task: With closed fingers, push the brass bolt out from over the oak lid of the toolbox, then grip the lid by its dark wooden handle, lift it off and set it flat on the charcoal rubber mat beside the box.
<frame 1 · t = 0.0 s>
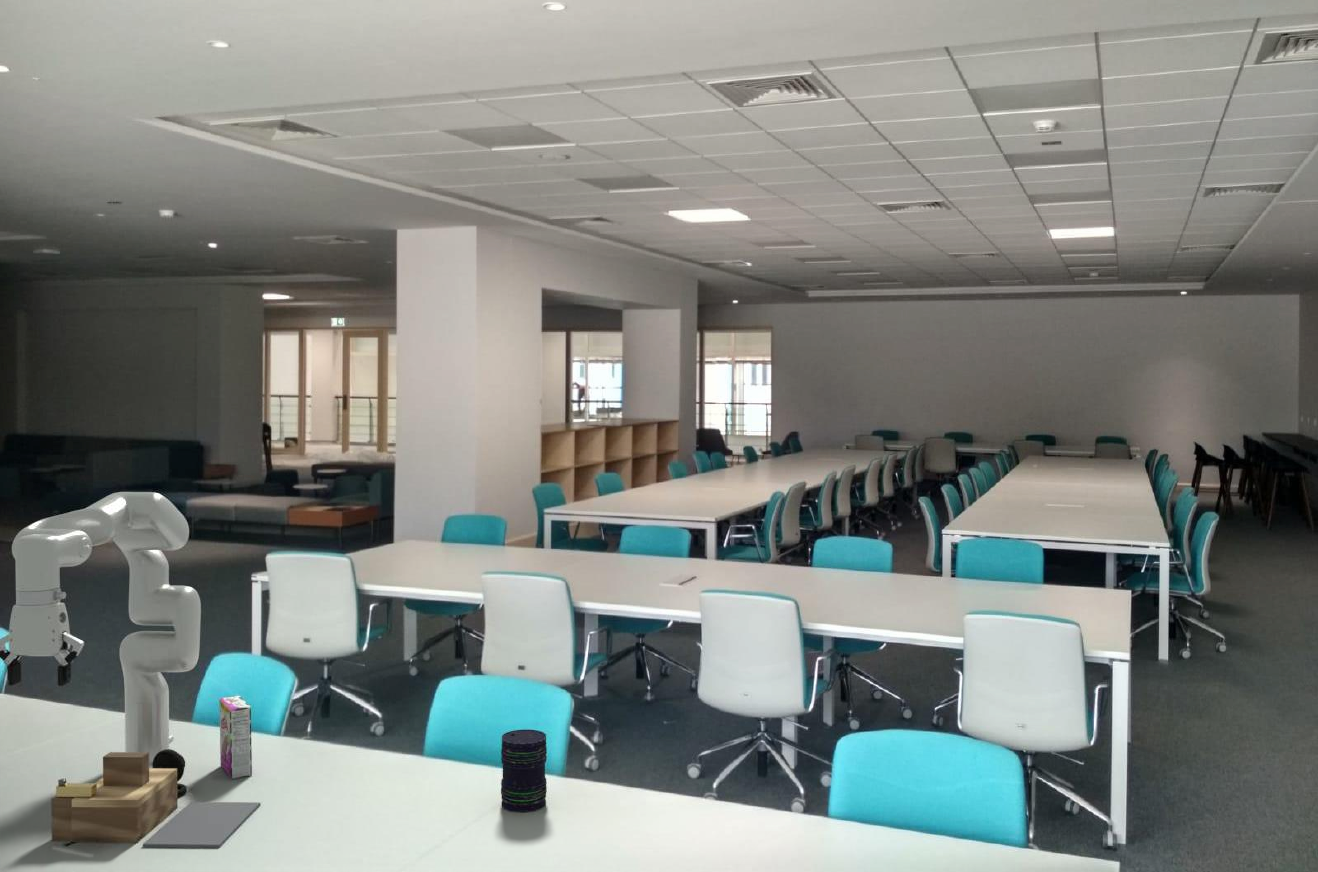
hand: (39, 684, 216), 31 cm above the table, fingers open, 9 cm apart
candy bar box: (235, 772, 257), on the table
bolt: (76, 787, 218), point 10 cm above the table, slide at 0.0 cm
storage jar: (523, 805, 238), on the table
lid: (126, 790, 225), point 7 cm above the table, touching toolbox
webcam: (168, 795, 242), on the table
mat: (204, 825, 225), on the table
toolbox: (126, 824, 225), on the table
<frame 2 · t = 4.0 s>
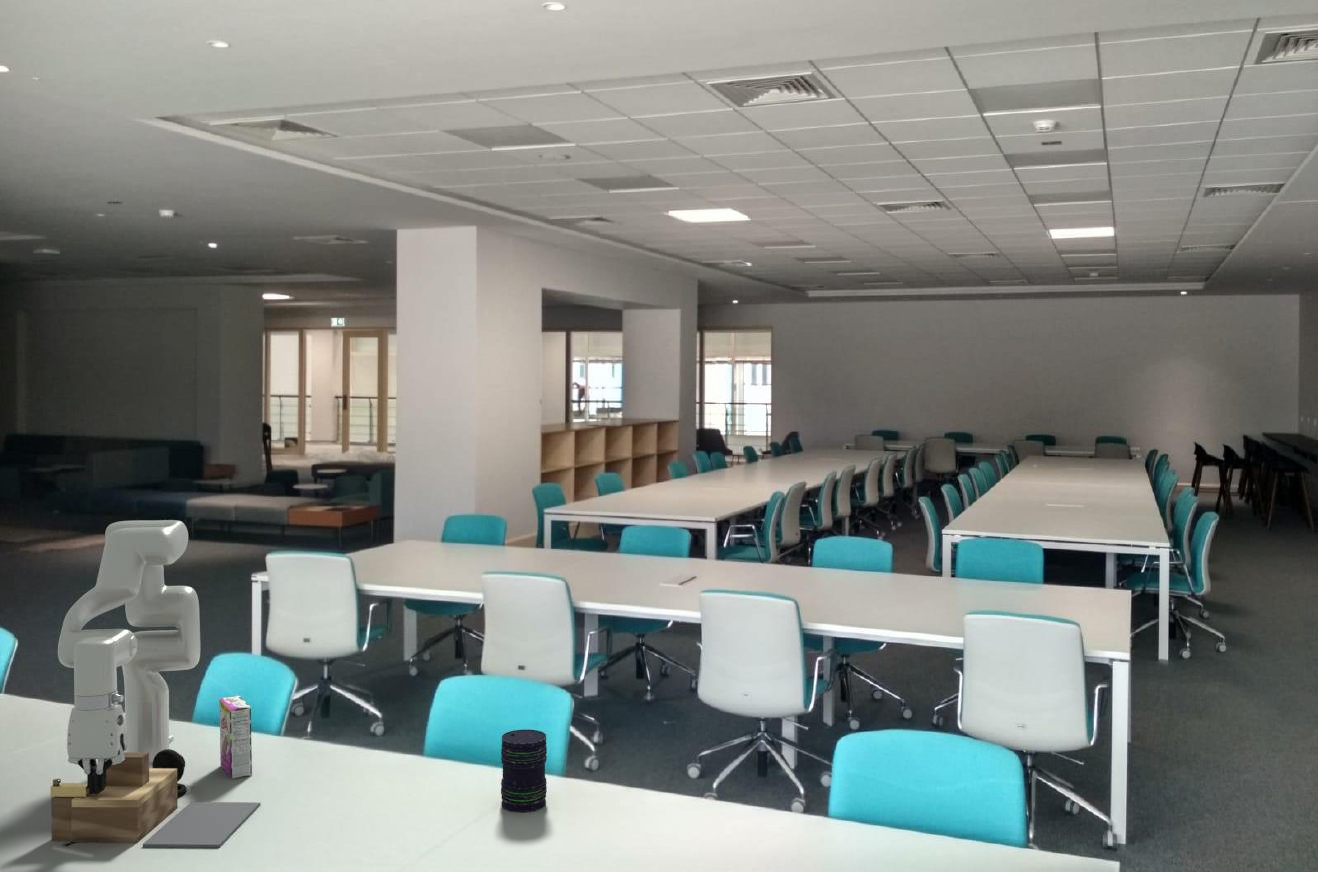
hand: (97, 791, 218), 9 cm above the table, fingers closed
bolt: (70, 787, 218), point 10 cm above the table, slide at 1.1 cm, touching gripper
everything else where it was.
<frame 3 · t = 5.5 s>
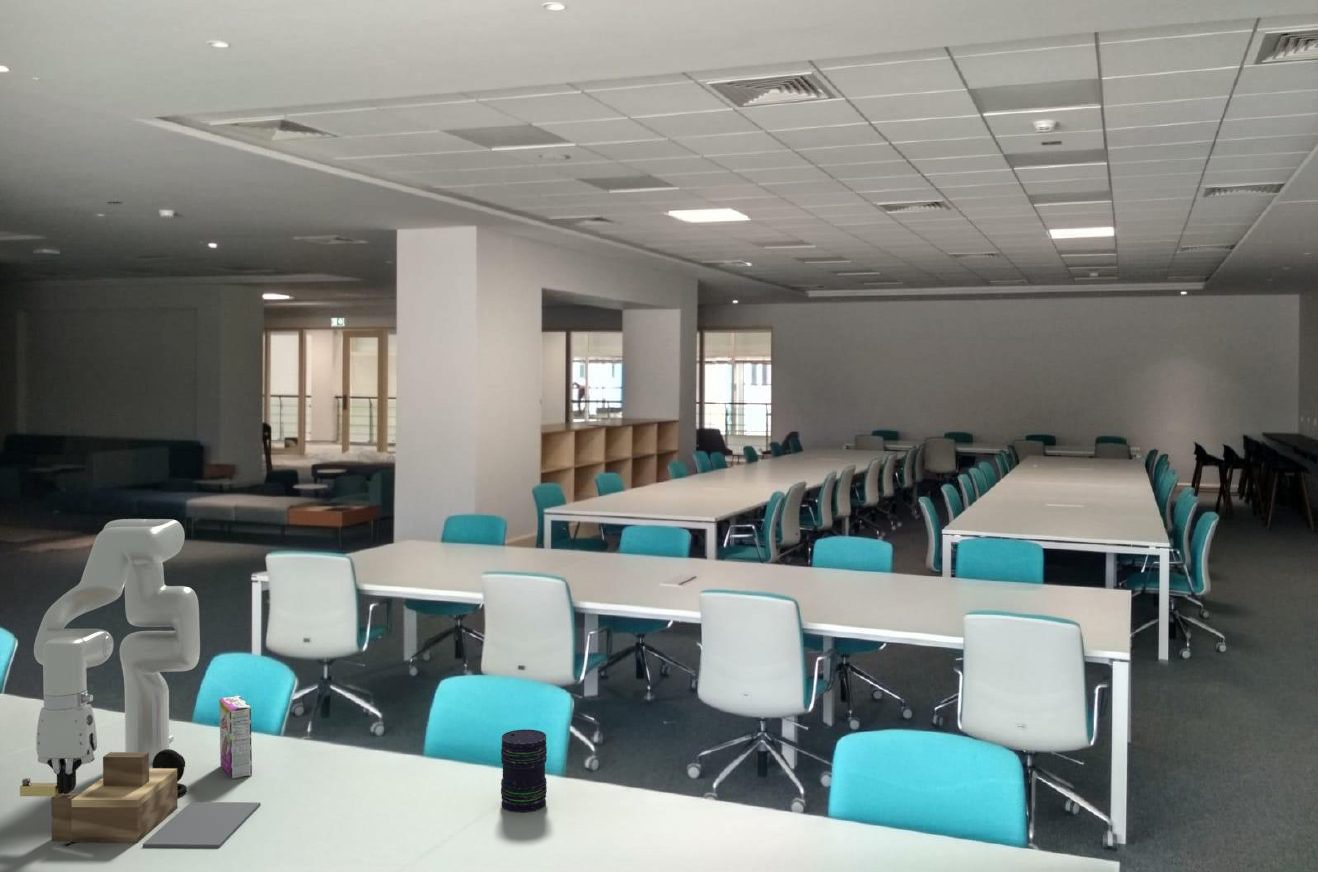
hand: (66, 791, 218), 9 cm above the table, fingers closed
bolt: (40, 787, 218), point 10 cm above the table, slide at 7.1 cm, touching gripper
everything else where it was.
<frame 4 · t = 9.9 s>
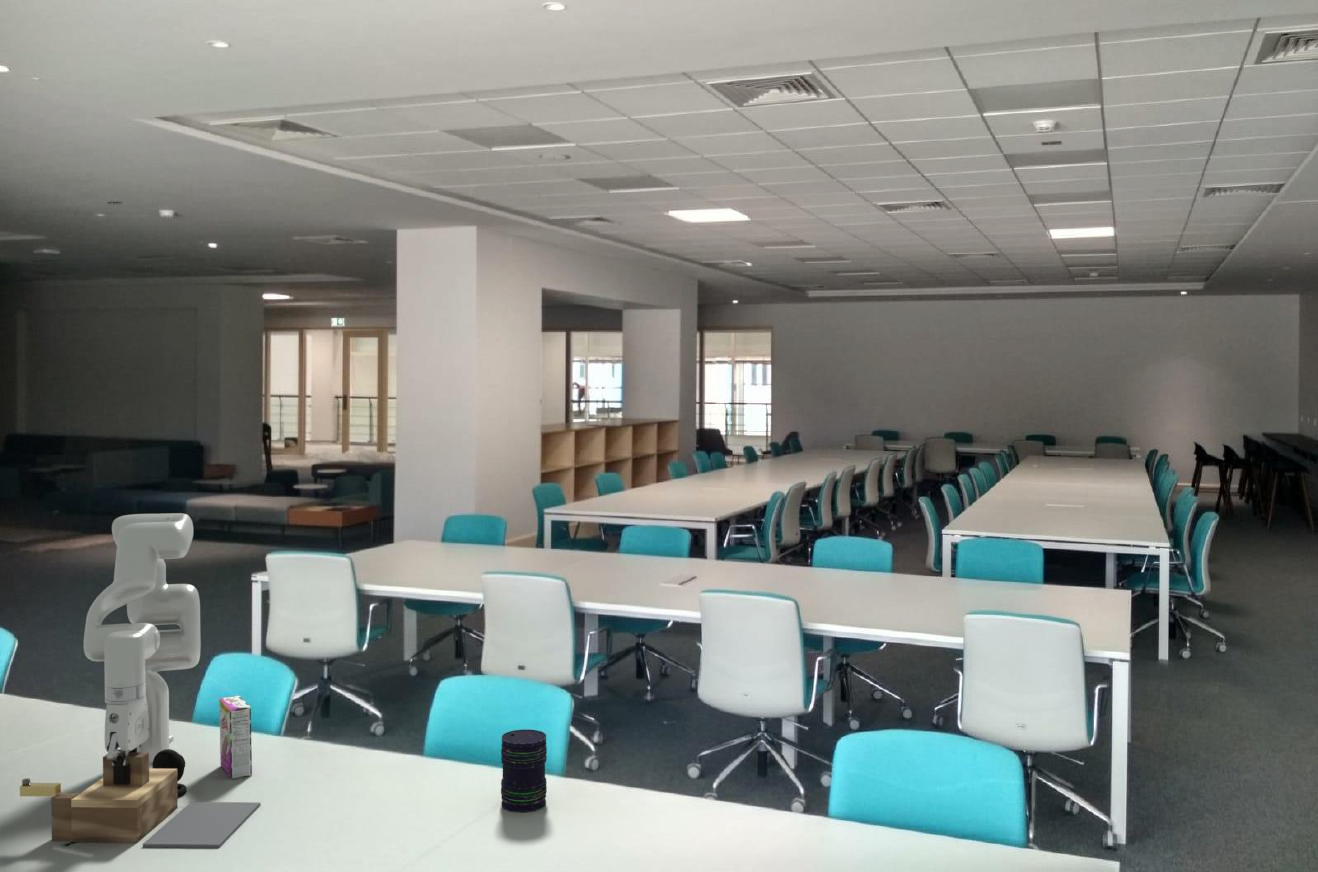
hand: (126, 780, 225), 9 cm above the table, fingers closed on lid, 3 cm apart
bolt: (40, 787, 218), point 10 cm above the table, slide at 7.2 cm
lid: (126, 790, 225), point 7 cm above the table, touching gripper, toolbox
everything else where it was.
when the fingers open (5 cm above the table, at t = 17.1 s): lid drops 2 cm, resting on mat.
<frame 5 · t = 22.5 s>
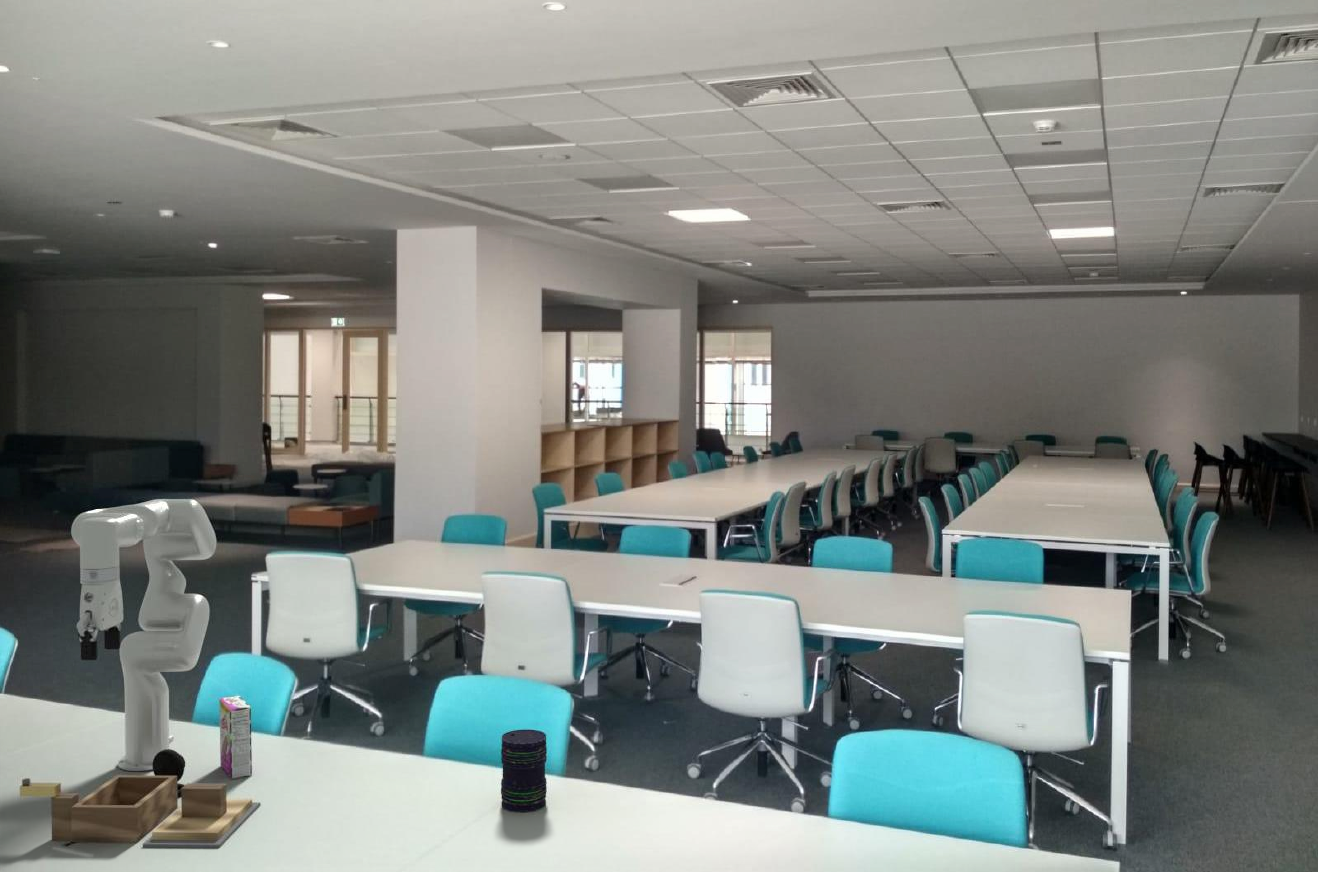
hand: (101, 654, 236), 32 cm above the table, fingers open, 9 cm apart
lid: (204, 822, 225), point 1 cm above the table, touching mat
everything else where it was.
at the end: bolt slide at 7.2 cm; lid inside the target area on the mat (0.1 cm from its centre), point 0.6 cm above the mat's base; lid tilted 0° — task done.
